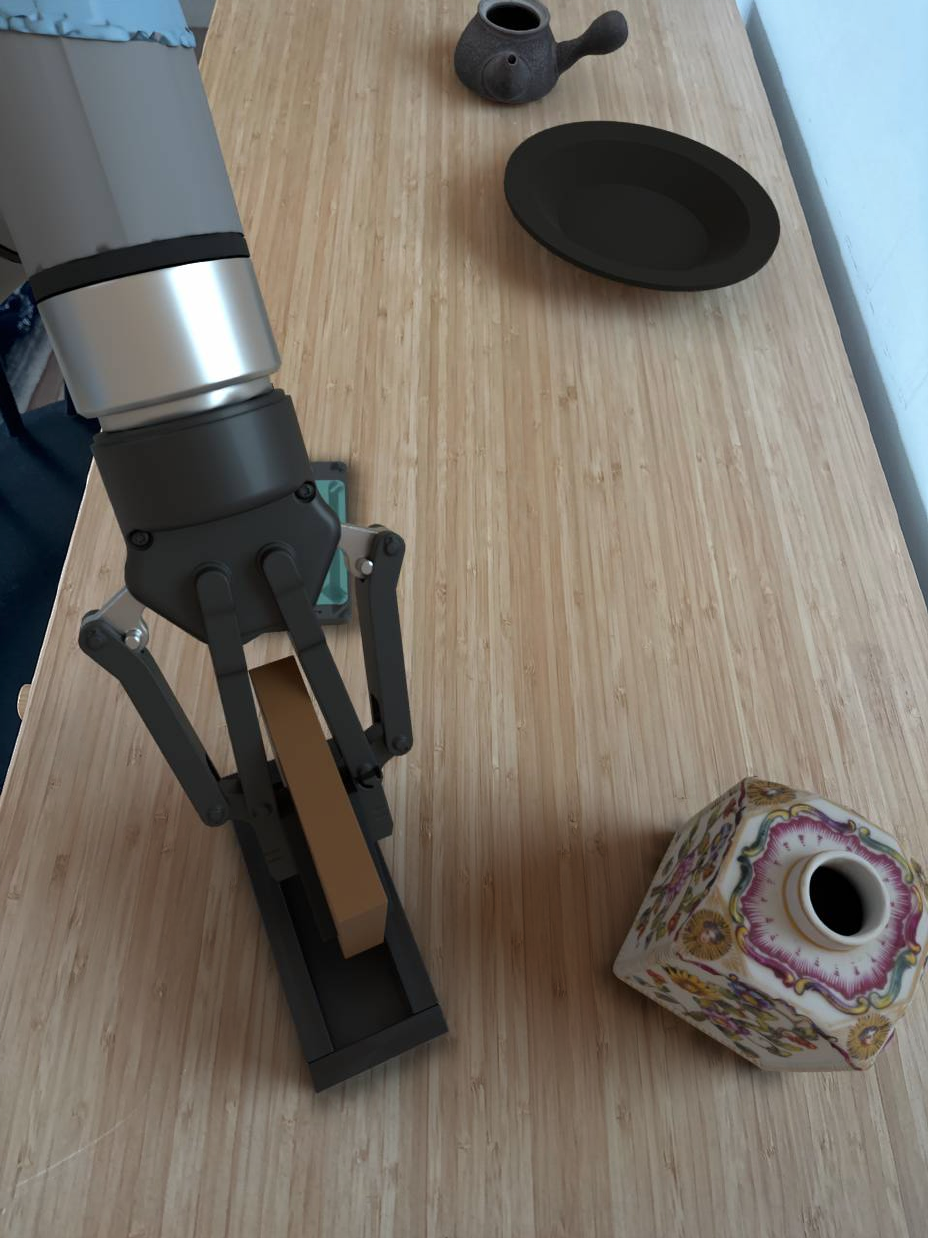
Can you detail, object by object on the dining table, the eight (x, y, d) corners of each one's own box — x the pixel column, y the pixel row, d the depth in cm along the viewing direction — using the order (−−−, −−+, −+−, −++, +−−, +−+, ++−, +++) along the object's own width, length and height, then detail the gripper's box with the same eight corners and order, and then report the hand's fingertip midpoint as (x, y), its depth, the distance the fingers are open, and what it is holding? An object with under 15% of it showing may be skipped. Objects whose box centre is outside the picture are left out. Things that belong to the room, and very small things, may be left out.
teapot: (446, 120, 98) (454, 26, 89) (456, 42, 105) (464, -52, 96) (610, 143, 99) (634, 52, 90) (609, 64, 106) (631, -27, 97)
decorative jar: (676, 825, 62) (781, 741, 47) (825, 913, 60) (988, 857, 45) (603, 978, 57) (694, 942, 41) (764, 1080, 55) (924, 1083, 39)
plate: (470, 284, 86) (476, 237, 81) (526, 144, 97) (534, 94, 92) (744, 361, 85) (767, 317, 80) (768, 210, 96) (790, 163, 91)
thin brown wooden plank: (274, 757, 46) (247, 669, 36) (309, 744, 47) (293, 654, 37) (345, 959, 42) (337, 923, 32) (383, 942, 43) (388, 901, 33)
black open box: (237, 817, 60) (217, 778, 52) (341, 778, 62) (337, 735, 54) (323, 1091, 53) (316, 1094, 45) (437, 1037, 54) (449, 1031, 47)
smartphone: (347, 459, 73) (351, 616, 66) (347, 468, 74) (351, 624, 67) (257, 460, 72) (252, 619, 65) (259, 469, 73) (254, 626, 66)
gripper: (354, 357, 37) (470, 812, 46) (-13, 448, 33) (186, 929, 42) (405, 354, 31) (530, 888, 39) (-47, 468, 27) (198, 1037, 35)
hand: (352, 908), depth 40 cm, fingers closed on thin brown wooden plank, 2 cm apart
